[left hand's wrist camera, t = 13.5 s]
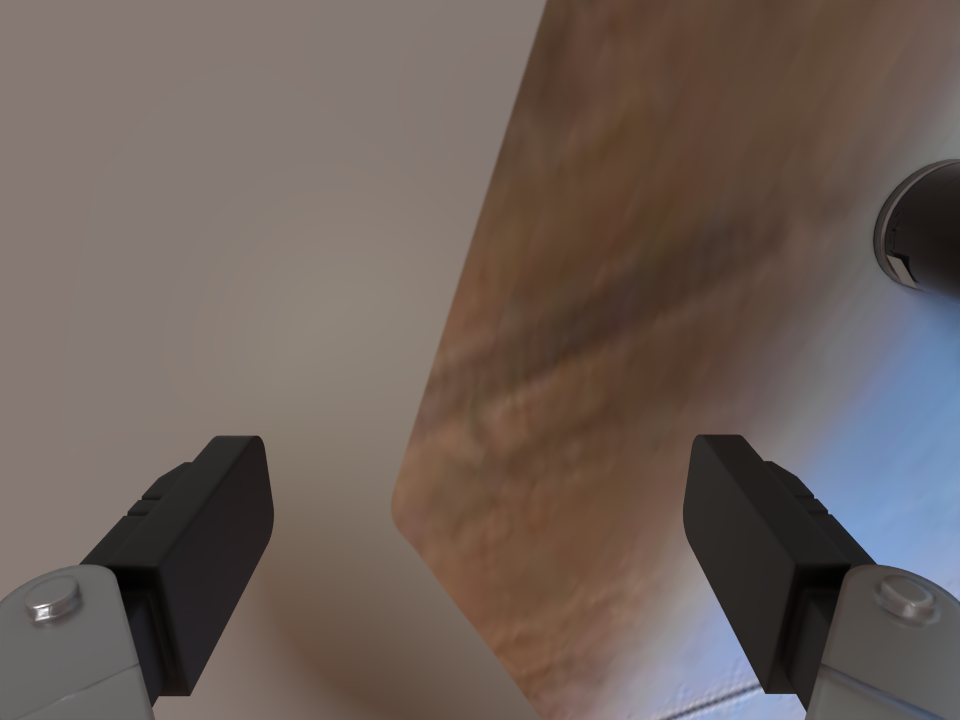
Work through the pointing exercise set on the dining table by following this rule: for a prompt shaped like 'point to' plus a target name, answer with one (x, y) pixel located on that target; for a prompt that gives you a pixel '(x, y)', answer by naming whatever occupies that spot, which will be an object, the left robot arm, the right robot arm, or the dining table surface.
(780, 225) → the dining table surface
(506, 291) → the dining table surface
